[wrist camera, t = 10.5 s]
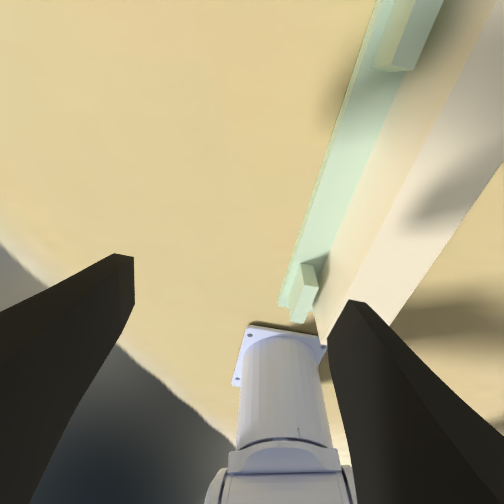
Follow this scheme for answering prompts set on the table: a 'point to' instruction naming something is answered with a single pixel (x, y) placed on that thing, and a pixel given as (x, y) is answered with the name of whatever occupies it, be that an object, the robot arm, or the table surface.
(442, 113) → the clay strip
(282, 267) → the table surface
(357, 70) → the strip rack
